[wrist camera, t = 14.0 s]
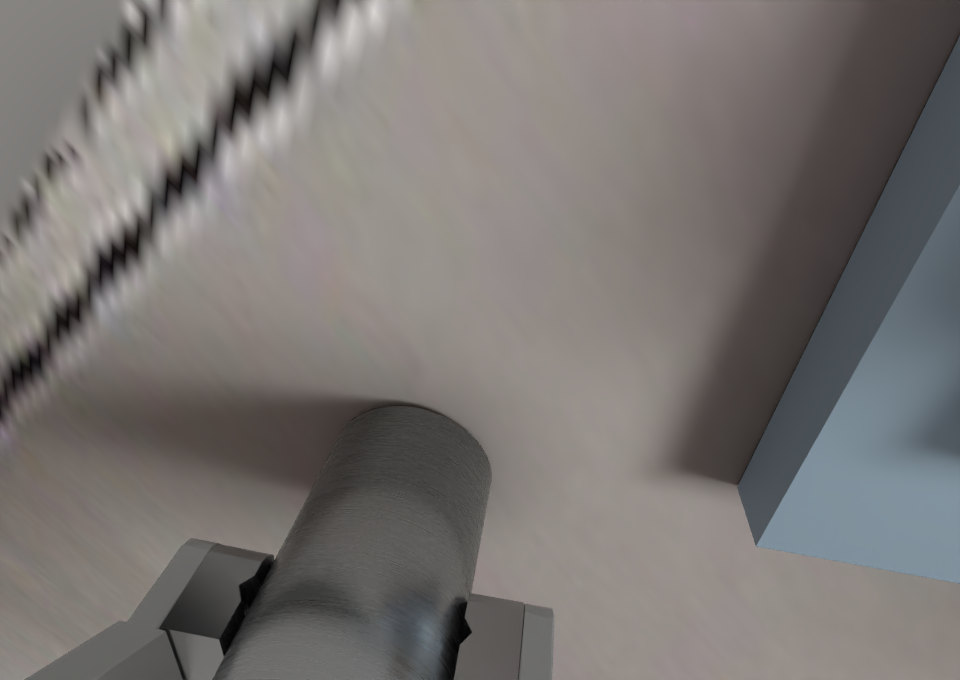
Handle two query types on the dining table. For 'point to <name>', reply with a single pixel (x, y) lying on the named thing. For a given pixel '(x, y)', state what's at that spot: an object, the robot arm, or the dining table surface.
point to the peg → (374, 559)
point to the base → (879, 383)
